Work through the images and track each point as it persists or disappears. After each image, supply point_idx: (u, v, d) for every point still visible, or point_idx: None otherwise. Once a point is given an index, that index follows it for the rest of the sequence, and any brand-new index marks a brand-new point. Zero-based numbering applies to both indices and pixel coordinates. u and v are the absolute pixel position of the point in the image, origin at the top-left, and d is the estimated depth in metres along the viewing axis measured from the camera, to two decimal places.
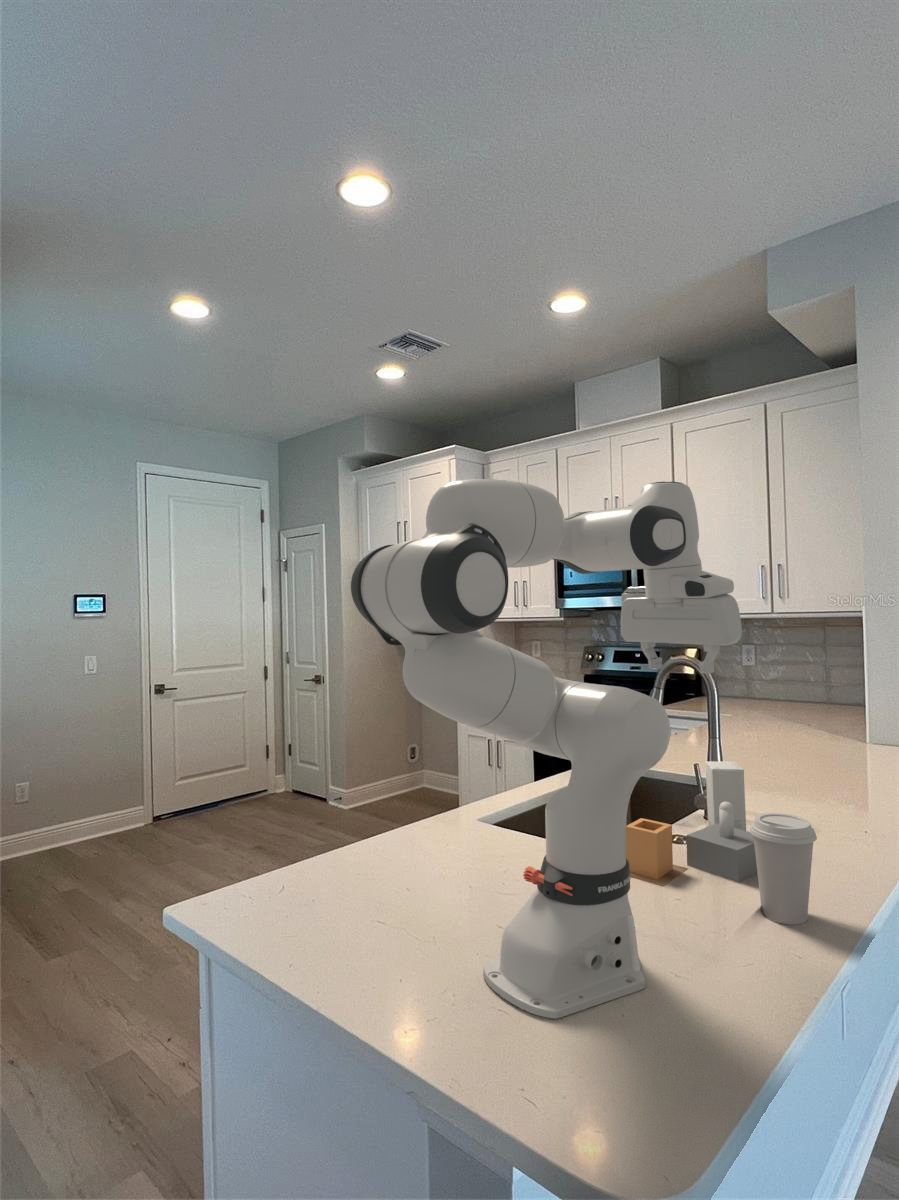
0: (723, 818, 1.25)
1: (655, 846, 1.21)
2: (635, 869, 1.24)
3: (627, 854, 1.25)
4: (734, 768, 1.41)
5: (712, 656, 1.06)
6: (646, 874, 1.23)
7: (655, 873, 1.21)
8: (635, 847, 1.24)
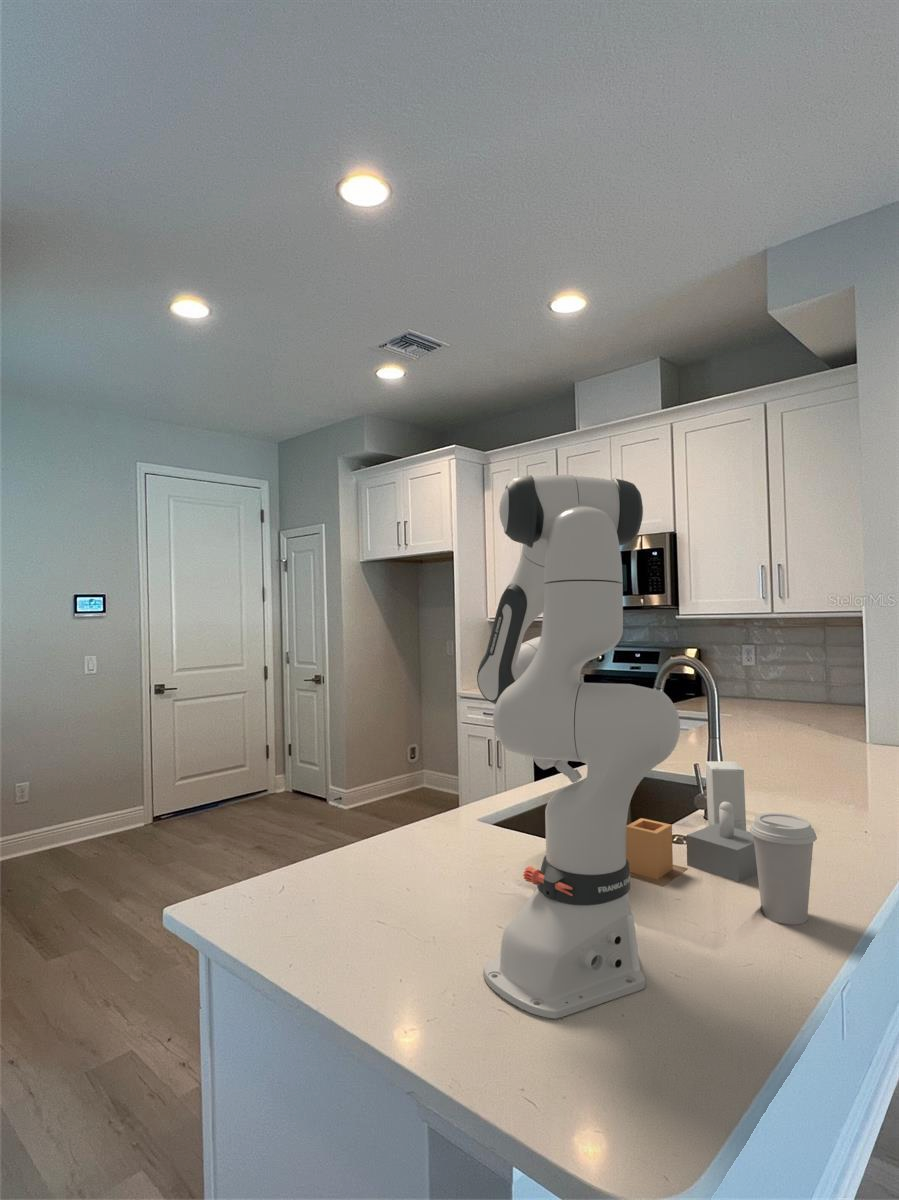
0: (723, 818, 1.25)
1: (655, 846, 1.21)
2: (635, 869, 1.24)
3: (627, 854, 1.25)
4: (734, 768, 1.41)
5: None
6: (646, 874, 1.23)
7: (655, 873, 1.21)
8: (635, 847, 1.24)
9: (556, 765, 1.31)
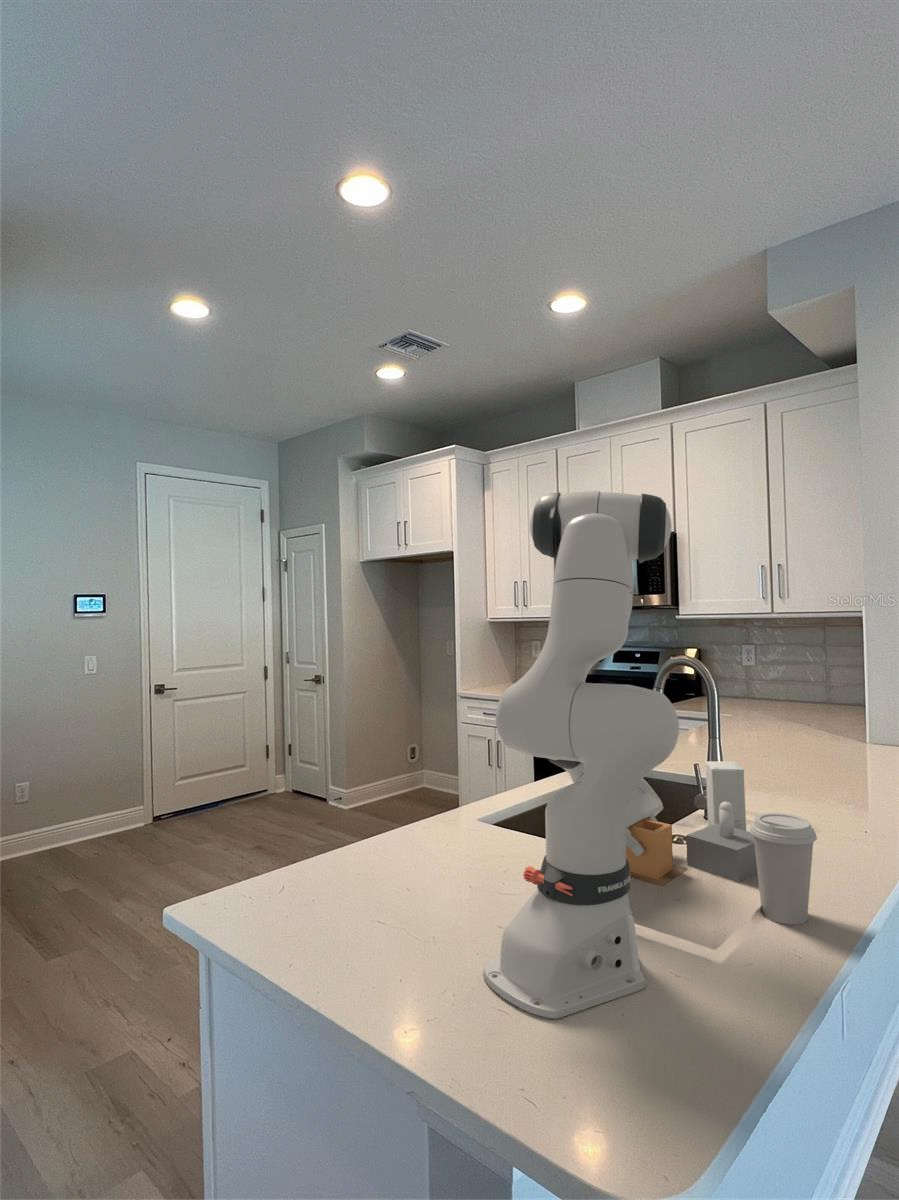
0: (723, 818, 1.25)
1: (655, 846, 1.21)
2: (635, 869, 1.24)
3: (627, 854, 1.25)
4: (734, 768, 1.41)
5: None
6: (646, 874, 1.23)
7: (655, 873, 1.21)
8: None
9: None
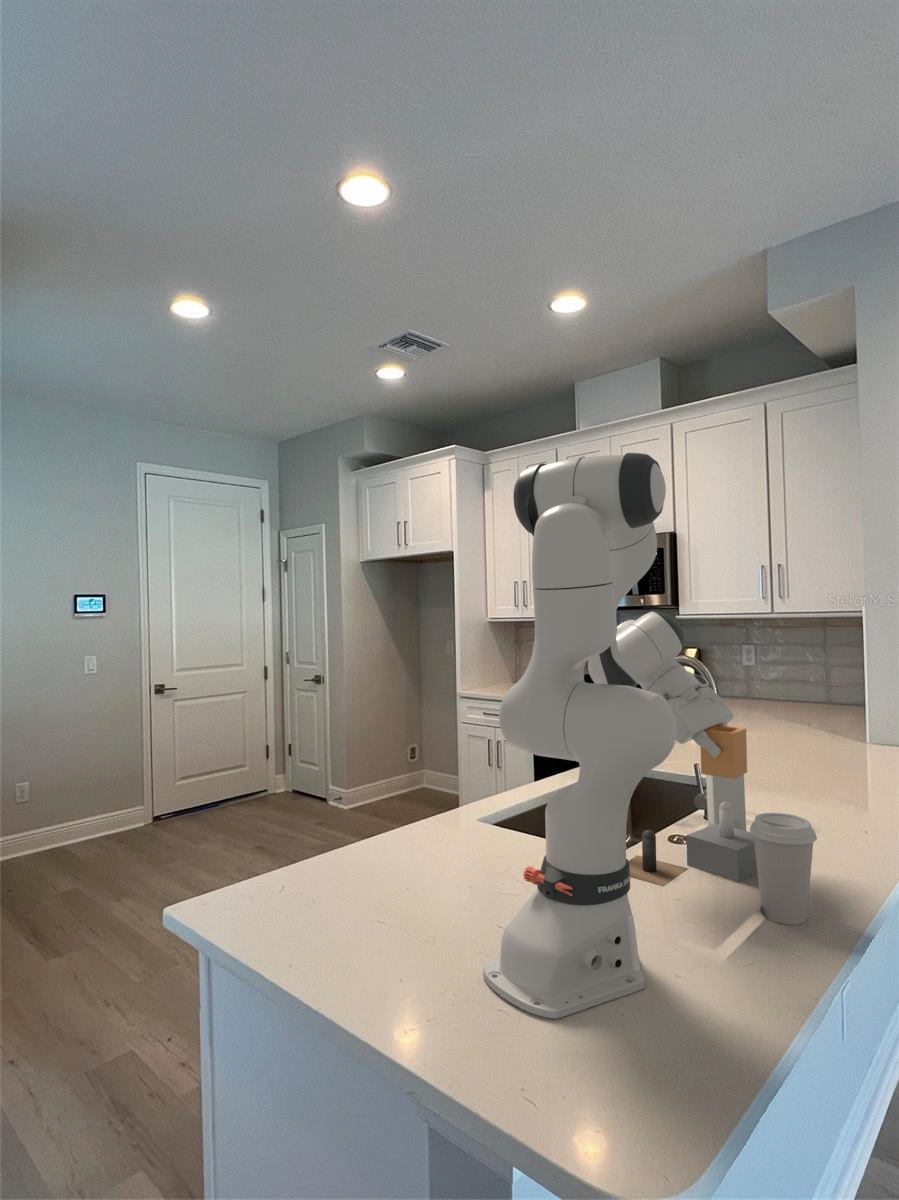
0: (723, 818, 1.25)
1: (732, 746, 1.22)
2: (711, 771, 1.25)
3: (702, 757, 1.26)
4: None
5: None
6: (722, 775, 1.23)
7: (732, 773, 1.22)
8: None
9: (695, 738, 1.24)
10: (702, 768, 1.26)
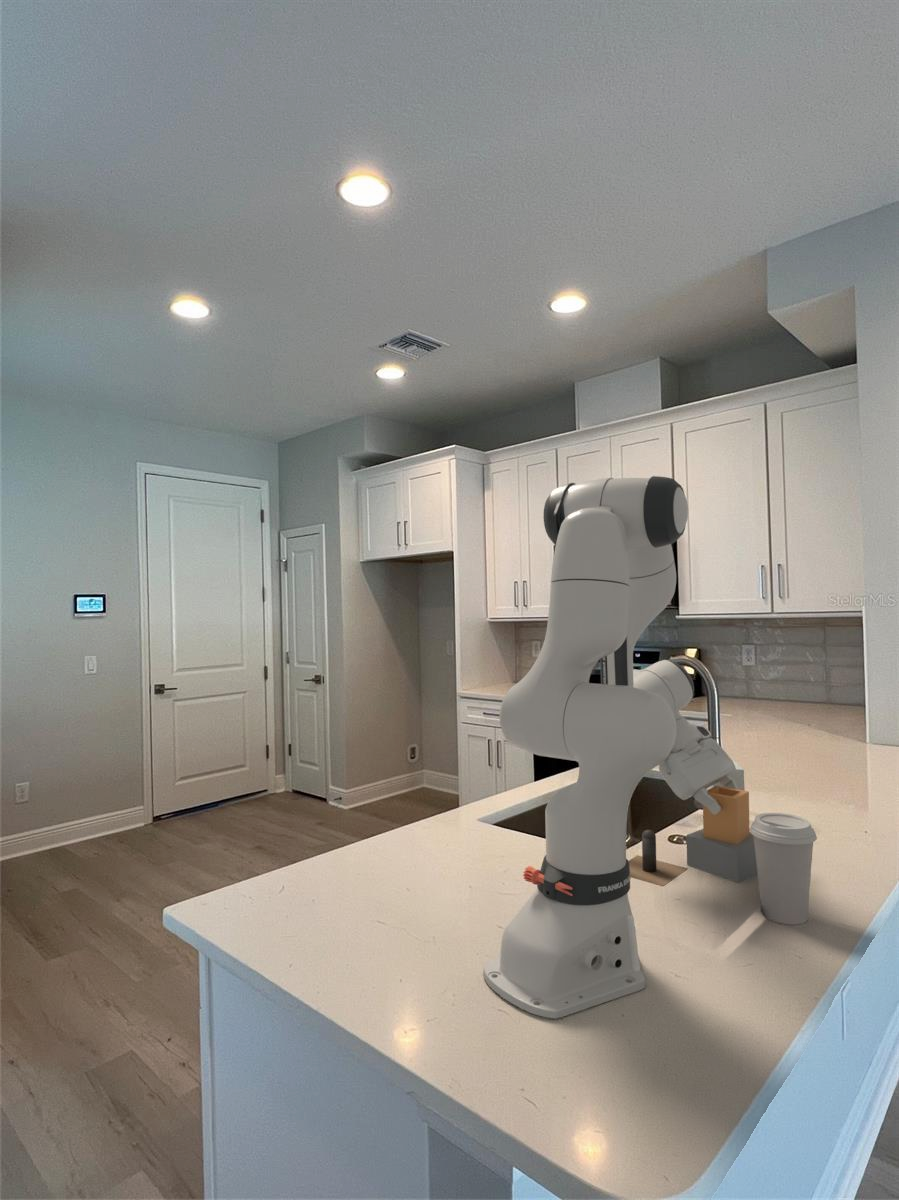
0: None
1: (735, 811, 1.22)
2: (713, 835, 1.25)
3: (704, 820, 1.26)
4: None
5: None
6: (725, 839, 1.23)
7: (735, 838, 1.22)
8: None
9: (695, 795, 1.23)
10: (704, 831, 1.26)
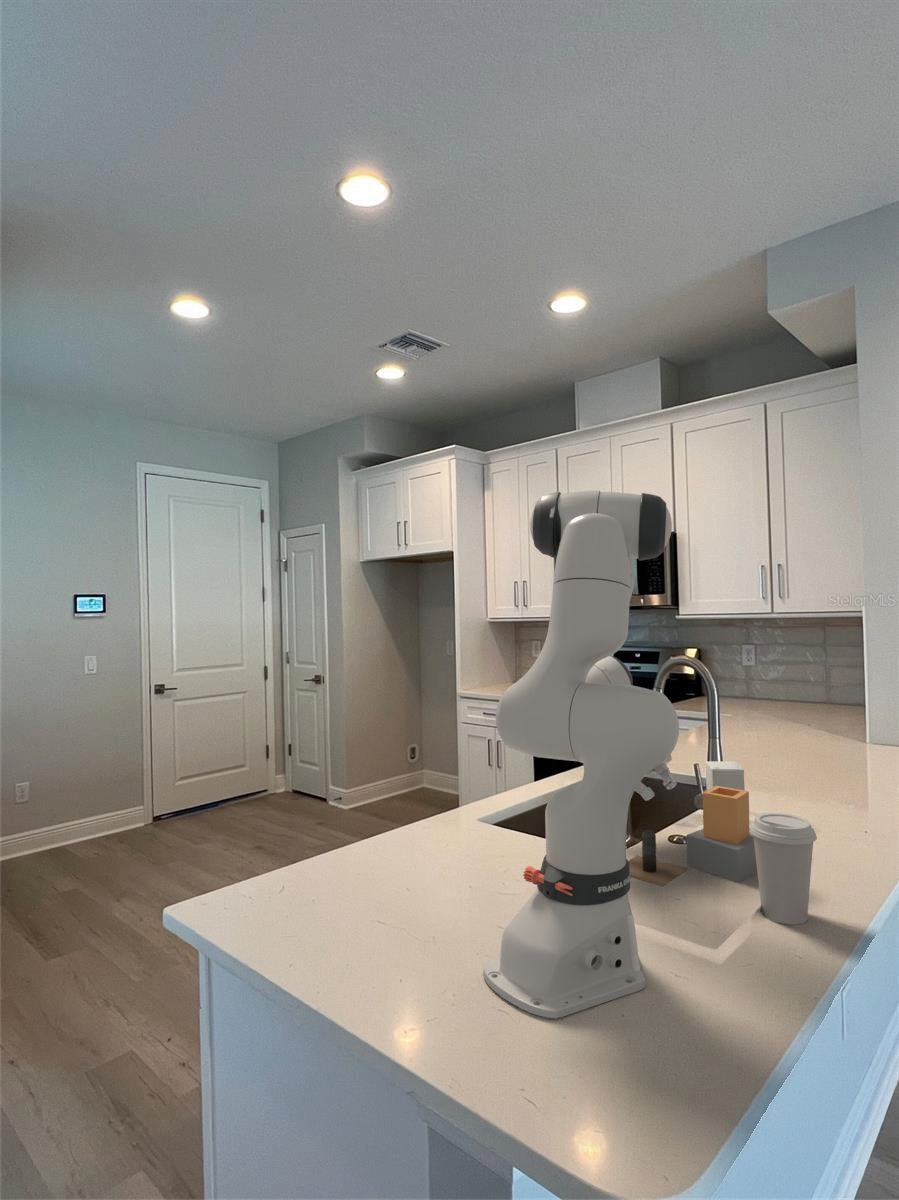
0: None
1: (735, 811, 1.22)
2: (713, 835, 1.25)
3: (704, 820, 1.26)
4: (734, 768, 1.41)
5: None
6: (725, 839, 1.23)
7: (735, 838, 1.22)
8: (713, 813, 1.25)
9: None
10: (704, 831, 1.26)
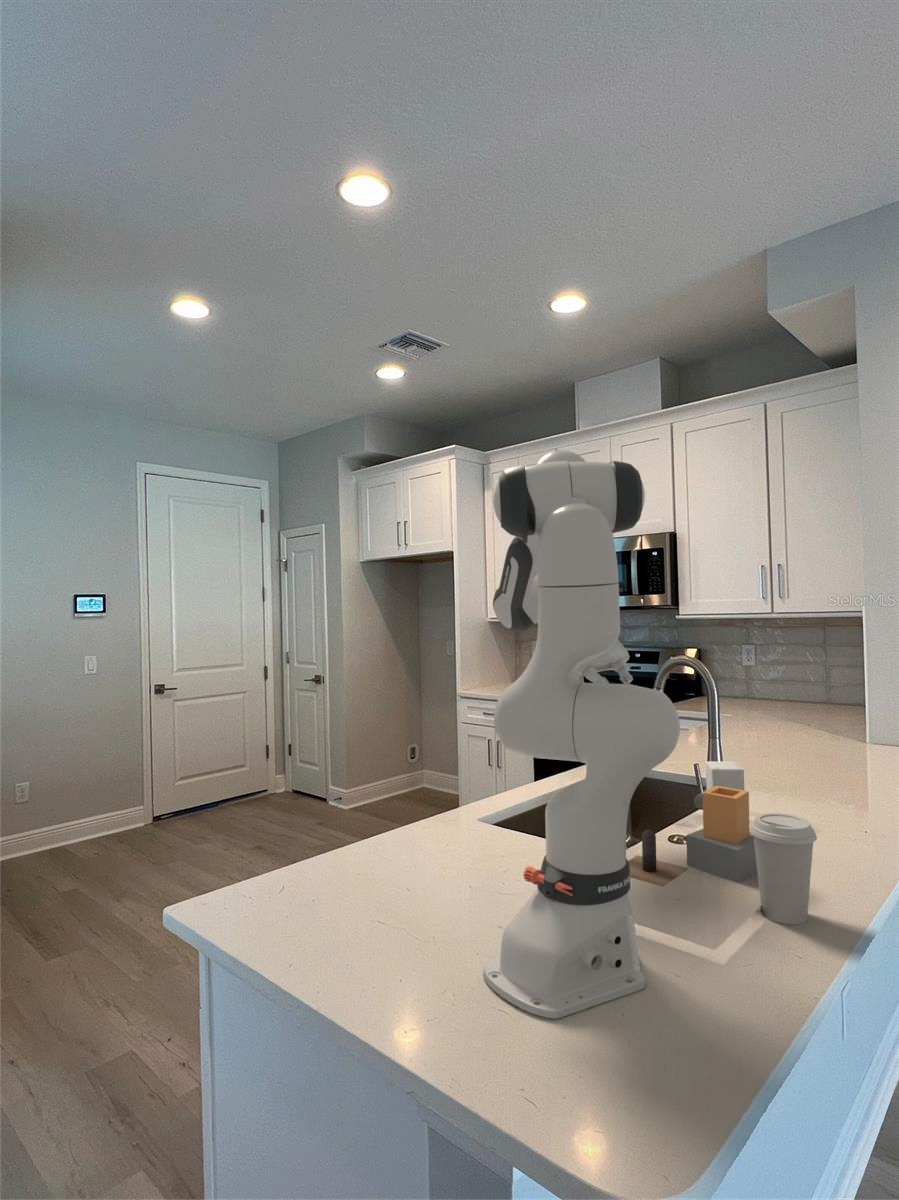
0: None
1: (735, 811, 1.22)
2: (713, 835, 1.25)
3: (704, 820, 1.26)
4: (734, 768, 1.41)
5: None
6: (725, 839, 1.23)
7: (735, 838, 1.22)
8: (713, 813, 1.25)
9: (584, 673, 1.36)
10: (704, 831, 1.26)
